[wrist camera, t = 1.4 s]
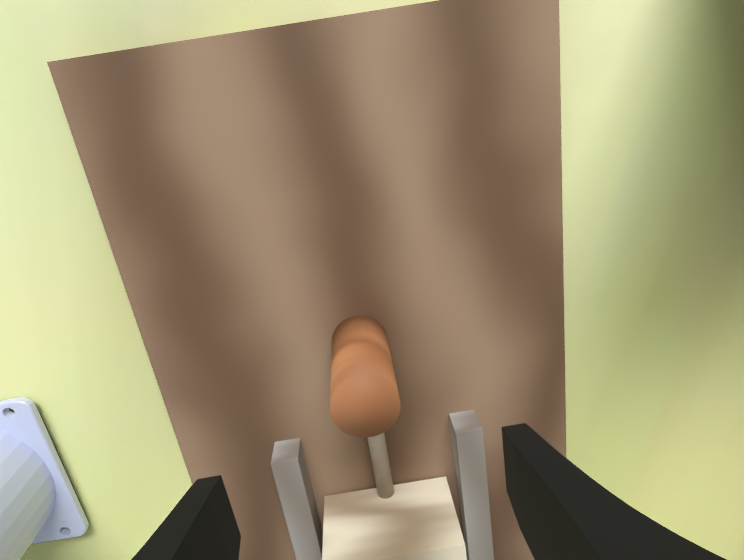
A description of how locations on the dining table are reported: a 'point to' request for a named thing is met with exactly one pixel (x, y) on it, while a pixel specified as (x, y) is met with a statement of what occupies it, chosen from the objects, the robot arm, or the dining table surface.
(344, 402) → the joystick
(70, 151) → the dining table surface
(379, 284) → the thin wooden panel
